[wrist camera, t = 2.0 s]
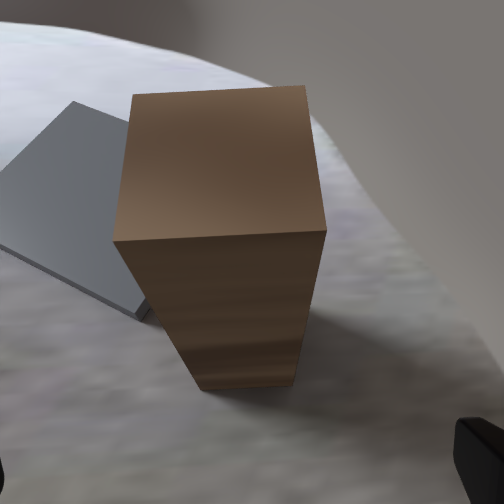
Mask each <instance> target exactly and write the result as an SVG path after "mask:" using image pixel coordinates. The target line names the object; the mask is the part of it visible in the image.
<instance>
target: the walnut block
mask: <svg viewBox="0 0 504 504" xmlns="http://www.w3.org/2000/svg"><path fill="white" fill-rule="evenodd" d="M326 233H327V227H326V221H325V214H324V207H323V201H322V194H321V188H320V181H319V175H318V168H317V161H316V155H315V148H314V142H313V135H312V129H311V122H310V116H309V109H308V103H307V96H306V89H305V86H303V85H302V86H283V87H264V88H245V89H226V90H207V91H188V92H169V93H150V94H133V97H132V104H131V111H130V118H129V125H128V132H127V140H126V147H125V154H124V161H123V168H122V175H121V183H120V190H119V197H118V204H117V211H116V218H115V226H114V233H113V240H112V242H113V243H114V245H115V247H116V248H117V250H118V252H119V253H120V255H121V257H122V259H123V260H124V262H125V264H126V265H127V267H128V269H129V270H130V272H131V274H132V275H133V277H134V279H135V280H136V282H137V284H138V286H139V287H140V289H141V291H142V292H143V294H144V296H145V297H146V299H147V301H148V302H149V304H150V306H151V307H152V309H153V311H154V313H155V314H156V316H157V318H158V319H159V321H160V323H161V324H162V326H163V328H164V329H165V331H166V333H167V334H168V336H169V338H170V340H171V341H172V343H173V345H174V346H175V348H176V350H177V351H178V353H179V355H180V356H181V358H182V360H183V361H184V363H185V365H186V367H187V368H188V370H189V372H190V373H191V375H192V377H193V378H194V380H195V382H196V383H197V385H198V387H199V388H200V390H218V389H238V388H258V387H278V386H293V382H294V377H295V373H296V368H297V364H298V359H299V355H300V350H301V346H302V341H303V336H304V332H305V327H306V323H307V318H308V314H309V309H310V305H311V300H312V296H313V291H314V287H315V282H316V278H317V273H318V269H319V264H320V260H321V255H322V251H323V246H324V242H325V237H326Z"/></svg>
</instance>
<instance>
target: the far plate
mask: <svg viewBox="0 0 504 504" xmlns="http://www.w3.org/2000/svg"><path fill="white" fill-rule="evenodd" d="M128 125H129V122H127V121H124V120H121V119H119V118H116V117H114V116H111V115H108V114H106V113H103V112H101V111H98V110H95V109H93V108H90V107H88V106H85V105H82V104H80V103H77V102H75V101H73V102H72V103H71V104H70V105H69V106H68V107H66V108H65V109H64V110H63V111H62V112H61V113H60V114H59V115H58V116H57V117H56V118H55V119H54V120H53V121H52V122H51V123H50V124H49V125H48V126H47V127H46V128H45V129H44V130H43V131H42V132H41V133H40V134H39V135H38V136H37V137H36V138H35V139H34V140H33V141H32V142H31V143H30V144H29V145H28V146H27V147H25V148H24V149H23V150H22V151H21V152H20V153H19V154H18V155H17V156H16V157H15V158H14V159H13V160H12V161H11V162H10V163H9V164H8V165H7V166H6V167H5V168H4V169H3V170H2V171H1V172H0V249H2V250H4V251H6V252H8V253H10V254H12V255H14V256H15V257H17V258H19V259H21V260H23V261H25V262H27V263H29V264H31V265H33V266H35V267H36V268H38V269H40V270H42V271H44V272H46V273H48V274H50V275H52V276H54V277H56V278H57V279H59V280H61V281H63V282H65V283H67V284H69V285H71V286H73V287H75V288H77V289H79V290H80V291H82V292H84V293H86V294H88V295H90V296H92V297H94V298H96V299H98V300H100V301H101V302H103V303H105V304H107V305H109V306H111V307H113V308H115V309H117V310H119V311H121V312H122V313H124V314H126V315H128V316H130V317H132V318H134V319H136V320H138V321H140V322H141V320H142V319H143V317H144V316H145V314H146V313H147V312H148V310H149V309H150V307H151V306H150V304H149V302H148V301H147V299H146V297H145V296H144V294H143V292H142V291H141V289H140V287H139V286H138V284H137V282H136V280H135V279H134V277H133V275H132V274H131V272H130V270H129V269H128V267H127V265H126V264H125V262H124V260H123V259H122V257H121V255H120V253H119V252H118V250H117V248H116V247H115V245H114V243H113V242H112V240H113V233H114V226H115V218H116V211H117V204H118V197H119V190H120V183H121V175H122V168H123V161H124V154H125V147H126V140H127V132H128Z"/></svg>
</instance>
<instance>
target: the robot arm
mask: <svg viewBox="0 0 504 504" xmlns="http://www.w3.org/2000/svg"><path fill="white" fill-rule="evenodd" d="M453 457H454V463H455V466H456V469H457V471H458V474H459V476H460V478H461V481H462V483H463V486H464V488H465V490H466V493H467V495H468V498H469V500H470V502H471V504H504V430H503V429H501V428H499V427H497V426H495V425H494V424H492V423H490V422H488V421H486V420H484V419H483V418H480V417H465V418H459V419H458V420H457V422H456V426H455V438H454V450H453ZM3 485H4V471H3V467H2V463H1V459H0V494H1V492H2V489H3Z"/></svg>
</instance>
